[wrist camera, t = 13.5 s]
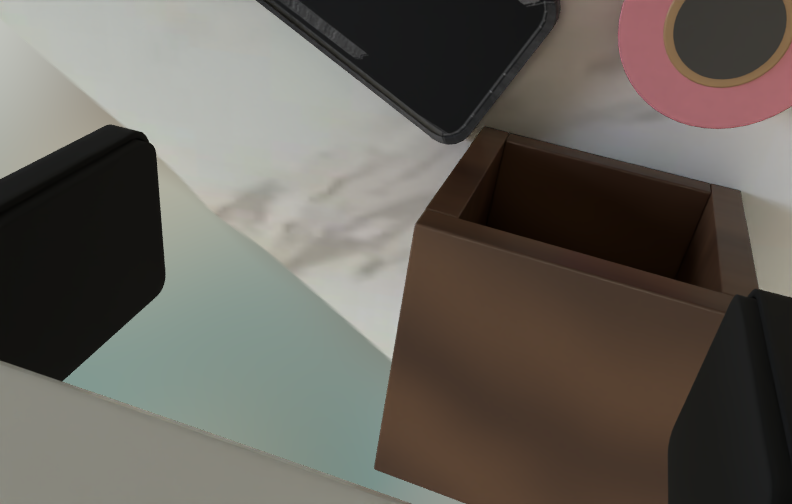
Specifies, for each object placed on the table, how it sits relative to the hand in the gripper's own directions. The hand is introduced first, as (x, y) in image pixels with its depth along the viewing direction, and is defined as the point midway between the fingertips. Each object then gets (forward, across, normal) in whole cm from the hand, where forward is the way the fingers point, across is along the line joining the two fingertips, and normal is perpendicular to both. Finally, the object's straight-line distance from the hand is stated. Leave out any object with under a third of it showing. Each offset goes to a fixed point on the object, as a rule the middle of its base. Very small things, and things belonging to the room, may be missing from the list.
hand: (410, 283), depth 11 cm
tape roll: (+20, -6, -2) cm, 21 cm away
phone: (+21, +8, 0) cm, 22 cm away
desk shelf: (+20, -3, +11) cm, 23 cm away
